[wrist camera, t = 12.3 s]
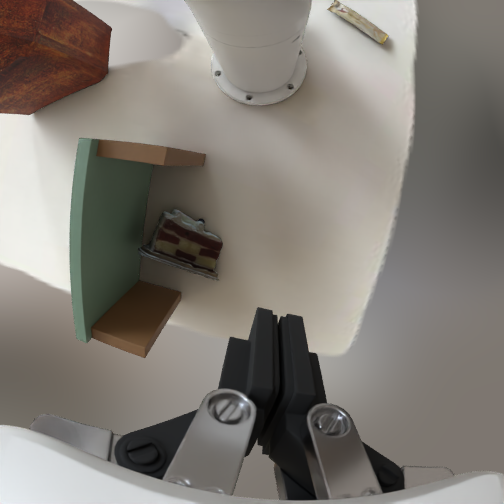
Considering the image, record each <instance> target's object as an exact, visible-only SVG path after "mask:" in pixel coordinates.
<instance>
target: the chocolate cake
mask: <svg viewBox="0 0 504 504" xmlns="http://www.w3.org/2000/svg"><path fill="white" fill-rule="evenodd" d="M204 223H205V221H204V220H203V219H199V220H198V221H195V220H193V219H192V218H190V217H189V216H187V215H185V214H184V213H182V212H181V211H179V210H176V209H174V210H173V212H172V214H170V213H168V212H163V213H162V215H161V217H160V219H159V223H158V225H157V226H156V228H155V231H154V233H153V237H152V239H151V241H150V243H149V244H148V245H143V246H142V247H140V248H138V249H137V250H138V251H139V252H138V254H140V255H143V256H145V257H149V258H152V259H155V260H157V261H160V262H162V263H165V264H167V265H171V266H175V267H177V268H180V269H184V270H187V271H189V272H192V273H194V274H199V275H202V276H204V277H206V278H210V279H213V280H216V281H218V280H219V279H218V273H216V272H215V271H214V268H215V266H216V260H217V259H218V257H219V254H220V250H221V248H222V241H221V239H220V238H218V237H217V236H216V235H213V234H211V233H210V232H207V233H206V232H205V231H203V230H204V228H205V225H204Z"/></svg>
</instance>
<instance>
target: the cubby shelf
mask: <svg viewBox="0 0 504 504" xmlns="http://www.w3.org/2000/svg"><path fill="white" fill-rule="evenodd" d="M205 155H206V154H202V153H197V152H192V151H186V150H181V149H175V148H169V147H163V146H156V145H148V144H140V143H132V142H122V141H112V140H101V139H89V138H79V142H78V148H77V155H76V161H75V169H74V177H73V186H72V198H71V212H70V280H71V295H72V306H73V315H74V324H75V331H76V338H77V339H79V340H81V341H83V342H85V343H88V342H89V340H90V339H91V338H94V339H96V340H98V341H101V342H103V343H106V344H108V345H111V346H113V347H116V348H119V349H121V350H124V351H126V352H129V353H132V354H135V355H138V356H141V357H143V358H145V357H146V356H147V354H148V352H149V351H150V349H151V347H152V346H153V344H154V342H155V341H156V339H157V337H158V336H159V334H160V333H161V331H162V329H163V328H164V326H165V324H166V323H167V321H168V320H169V318H170V316H171V315H172V313H173V312H174V310H175V308H176V307H177V305H178V304H179V302H180V299H181V292H179V291H175V290H171V289H168V288H164V287H161V286H157V285H154V284H150V283H147V282H143V281H140V280H139V271H140V259H141V255H140V254H138V252H139V251H138V250H137V249H138V248H140V247H142V238H143V229H144V221H145V213H146V206H147V199H148V192H149V186H150V180H151V174H152V168H153V164H156V165H162V166H203V165H204V160H205Z"/></svg>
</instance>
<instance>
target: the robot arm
mask: <svg viewBox="0 0 504 504" xmlns="http://www.w3.org/2000/svg"><path fill="white" fill-rule="evenodd" d="M184 1H185V2H186V4H187V5H188V6H189V8H190V10H191V11H192V13H193V15H194V16H195V18H196V20H197V22H198V24H199V25H200V27H201V29H202V31H203V33H204V35H205V37H206V39H207V41H208V43H209V44H210V46H211V48H212V50H213V52H214V53H213V55H212V59H211V71H212V75H213V78H214V80H215V82H216V84H217V85H218V87H219V88H220V89H221V90H222V91H223V92H224V93H225V94H226V95H227V96H229V97H230V98H232V99H233V100H236V101H238V102H241V103H244V104H248V105H258V106H261V105H270V104H274V103H278V102H280V101H282V100H284V99H286V98H288V97H289V96H291V95H292V94H293V93H294V92H295V91H296V90H297V89H298V88H299V87H300V85H301V84H302V82H303V80H304V78H305V75H306V71H307V59H306V55H305V52H304V50H303V48H302V46H301V44H302V40H303V36H304V33H305V29H306V25H307V22H308V18H309V14H310V10H311V2H312V0H184ZM299 54H300V55H299ZM218 74H221V75H220V76H217V75H218ZM288 87H291V88H292V89H291V90H289V89H288ZM248 98H251V100H248ZM257 438H258V445H260V446H263V450H262V454H266V455H269V458H270V459H271V460H272V461H274V462H275V464H274V473H275V479H276V485H277V491H278V496H279V500H270V499H257V498H248V497H239V496H232V495H233V492H234V489H235V486H236V483H237V479H238V476H239V473H240V470H241V467H242V463H243V460H244V457H246V456H248V455H249V453H250V452H251V450H252V448H253V446H254V444H255V442H256V440H257ZM0 504H504V475H503V474H501V473H498V472H490V471H476V472H469V473H464V474H460V475H456V476H454V474H453V472H452V471H451V470H450V469H448V468H446V467H417V466H403V467H401V468H400V467H398V466H397V465H396V464H395V463H394V462H392V461H390V460H389V459H387V458H386V457H384V456H383V455H381V454H380V453H378V452H377V451H375V450H374V449H372V448H370V447H369V446H368V445H366V444H365V443H364V442H362V441H361V439H360V437H359V434H358V432H357V429H356V427H355V425H354V422H353V420H352V418H351V417H350V415H349V414H348V413H347V412H346V411H345V410H344V409H342V408H340V407H339V406H337V405H333V404H328V403H327V400H326V395H325V390H324V385H323V380H322V375H321V370H320V365H319V361H318V356H317V354H316V353H311V352H309V350H308V344H307V339H306V334H305V328H304V323H303V318H302V317H301V316H297V315H292V314H287V315H286V317H282V316H281V317H280V320H279V323H278V321H277V315H273V312H272V310H268V309H264V308H259V307H258V308H257V310H256V314H255V317H254V321H253V324H252V328H251V332H250V335H249V339H248V340H243V339H238V338H234V337H230V339H229V343H228V347H227V351H226V356H225V360H224V364H223V368H222V373H221V378H220V382H219V387H218V389H217V390H214V391H212V392H210V393H208V394H207V395H206V396H205V398H204V399H203V401H202V403H201V405H200V407H199V409H197V410H195V411H192V412H190V413H188V414H184V415H182V416H179V417H176V418H174V419H171V420H168V421H165V422H162V423H159V424H156V425H153V426H150V427H147V428H144V429H141V430H137V431H134V432H131V433H128V434H126V435H124V436H123V435H118V434H113V432H112V431H111V430H107V429H103V428H98V427H94V426H90V425H86V424H82V423H79V422H75V421H72V420H69V419H65V418H62V417H58V416H56V415H51V414H44V415H40V416H38V417H37V418H35V419H34V421H33V422H32V424H31V426H30V429H24V428H20V427H16V426H8V425H0Z"/></svg>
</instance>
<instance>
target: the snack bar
mask: <svg viewBox="0 0 504 504" xmlns="http://www.w3.org/2000/svg"><path fill="white" fill-rule="evenodd" d="M331 5H332V6H330V8H329V9H327V10H329V11H331V12H334V13H336V14H337V15H339V16H340V17H342V18H344V19H345V20H347V21H348V22H350V23H352V24H353V25H355V26H356V27H358V28H359V29H360V30H362V31H363V32H365V33H366V34H368V35H369V36H370V37H372V38H373V39H375V40H376V41H377V42H379V43H380V44H383V43H385V40H386V39H387V37H389V36H388V35H387V34H386V33H384V32H383V31H382V30H380V29H379V28H378V27H376V26H375V25H374V24H372V23H371V22H369V21H368V20H367V19H365V18H363V17H362V16H361V15H359V14H358V13H356V12H355V11H353V10H351V9H349V8H348V7H346V6H344V5H343V4H341V3H340V2H338V1H337V0H335V1H334V3H332V4H331Z"/></svg>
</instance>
